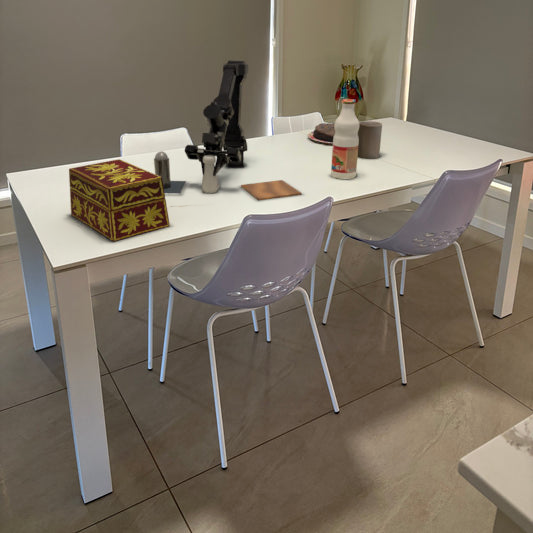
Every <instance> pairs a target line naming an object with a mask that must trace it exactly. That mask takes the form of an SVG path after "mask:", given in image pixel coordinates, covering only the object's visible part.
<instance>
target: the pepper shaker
mask: <svg viewBox="0 0 533 533" xmlns="http://www.w3.org/2000/svg"><path fill="white" fill-rule="evenodd" d="M170 165H171V164H170V157H169V156H168V154H167V153H166V152H165V151H158V152H157V153H155V156H154V158H153V166H154V168H153V169H154V174H156V175H158V176H160V177H162V181H163V187H164V189H167V188H170V187H171V181H172V180H171V166H170Z"/></svg>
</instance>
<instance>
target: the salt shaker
mask: <svg viewBox="0 0 533 533" xmlns="http://www.w3.org/2000/svg"><path fill="white" fill-rule="evenodd" d="M216 160H217V157H216V156H213V155H206V156H204V157H203V163H205V166H204V176H203V175H202V181H201V189H202V191H203V192H204V193H205V194H216V193H217V192H218V189H219V181H218V175H217V174H216V175H215V176H213V171H214V167H215V164H216Z"/></svg>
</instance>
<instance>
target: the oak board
mask: <svg viewBox="0 0 533 533" xmlns="http://www.w3.org/2000/svg"><path fill="white" fill-rule="evenodd" d="M240 187H241V188H242V189H243V190H245V191H246V192H247V193H249V194H250V195H251V196H252V197H254V198H255V199H256V200H257V201H265V200H271V199H279V198H286V197H293V196H294V197H295V196H300V195H302V192H301V191H300V190H298V189H296V188H295V187H293V186H292V185H290V184H289V183H287V182H286V181H284V180H282V179H281V180H280V179H279V180H272V181H271V180H270V181H264V182H256V183H255V182H254V183H247V184H240Z"/></svg>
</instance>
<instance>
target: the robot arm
mask: <svg viewBox="0 0 533 533" xmlns="http://www.w3.org/2000/svg"><path fill="white" fill-rule="evenodd" d="M248 74H249V65H248V63H247V62H246V61H245V60H237V59H236V60H234V59H232V60H231V59H229V60H228V61H227V62H225V63H223V64H222V78H221V82H220V87H219V91H218V94H217V96H216V97H215V98H214V99H213V100H212V101H210V104H209V105H206V106H205V107H204V109H203V112H202V114H203V117H204V118H205V121H206V125H207V126H208V127H209V129H208V132H202V136H201V143H202V144H203V148H200V147H199V146H198V145H197V144H187V145H186V146H185V147H184V153H185V155H186V157H187V159H189V160H191V161H192V160H194V161H198V162H199V163H200V166H201V172H202V177H203V176H204V166H205V163H203V157H204V156H206V155H213V156H215V157H216V162H215V163H214V166H215V167H214V171H213V176H215V175H217V174H218V173H219V172H220V171H221V169H222V168H223V167H224V166H225V165H226V166H227V168H244V167H245V161H244V156H245V155H244V154H245V152H248V142H247V139H246V136H245V131H244V129H243V127H242V125H241V118H242V117H241V116H242V115H241V114H242V95H243V94H242V93H243V91H242V88H243V85H244V83H245V81H246V80H247V75H248ZM227 121H228V124H227Z"/></svg>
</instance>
